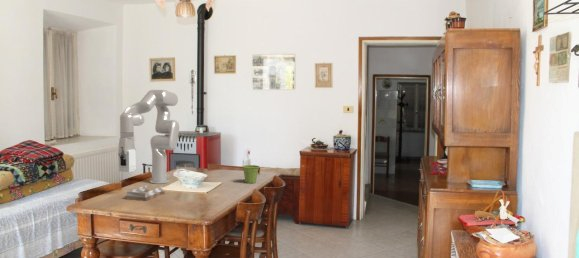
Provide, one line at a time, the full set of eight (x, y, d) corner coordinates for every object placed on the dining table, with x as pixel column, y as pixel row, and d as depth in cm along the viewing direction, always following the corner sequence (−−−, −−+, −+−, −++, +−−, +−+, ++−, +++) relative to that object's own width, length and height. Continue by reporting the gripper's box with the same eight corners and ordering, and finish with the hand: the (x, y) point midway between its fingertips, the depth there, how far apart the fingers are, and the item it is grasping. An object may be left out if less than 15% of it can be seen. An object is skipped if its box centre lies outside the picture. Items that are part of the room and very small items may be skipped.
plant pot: (258, 184, 315) (258, 167, 314) (241, 183, 315) (241, 167, 314) (260, 181, 327) (260, 165, 326) (243, 180, 327) (243, 164, 326)
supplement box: (136, 170, 282) (136, 149, 281) (129, 172, 275) (128, 151, 274) (125, 169, 284) (125, 148, 283) (118, 171, 277) (117, 150, 276)
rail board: (144, 191, 285) (144, 185, 285) (164, 193, 282) (164, 186, 282) (124, 198, 266) (124, 191, 266) (146, 200, 263) (146, 193, 262)
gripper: (129, 133, 287) (130, 162, 289) (112, 136, 270) (112, 166, 272) (140, 133, 285) (141, 162, 287) (123, 136, 268) (124, 167, 270)
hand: (127, 164), depth 279 cm, fingers closed on supplement box, 7 cm apart
